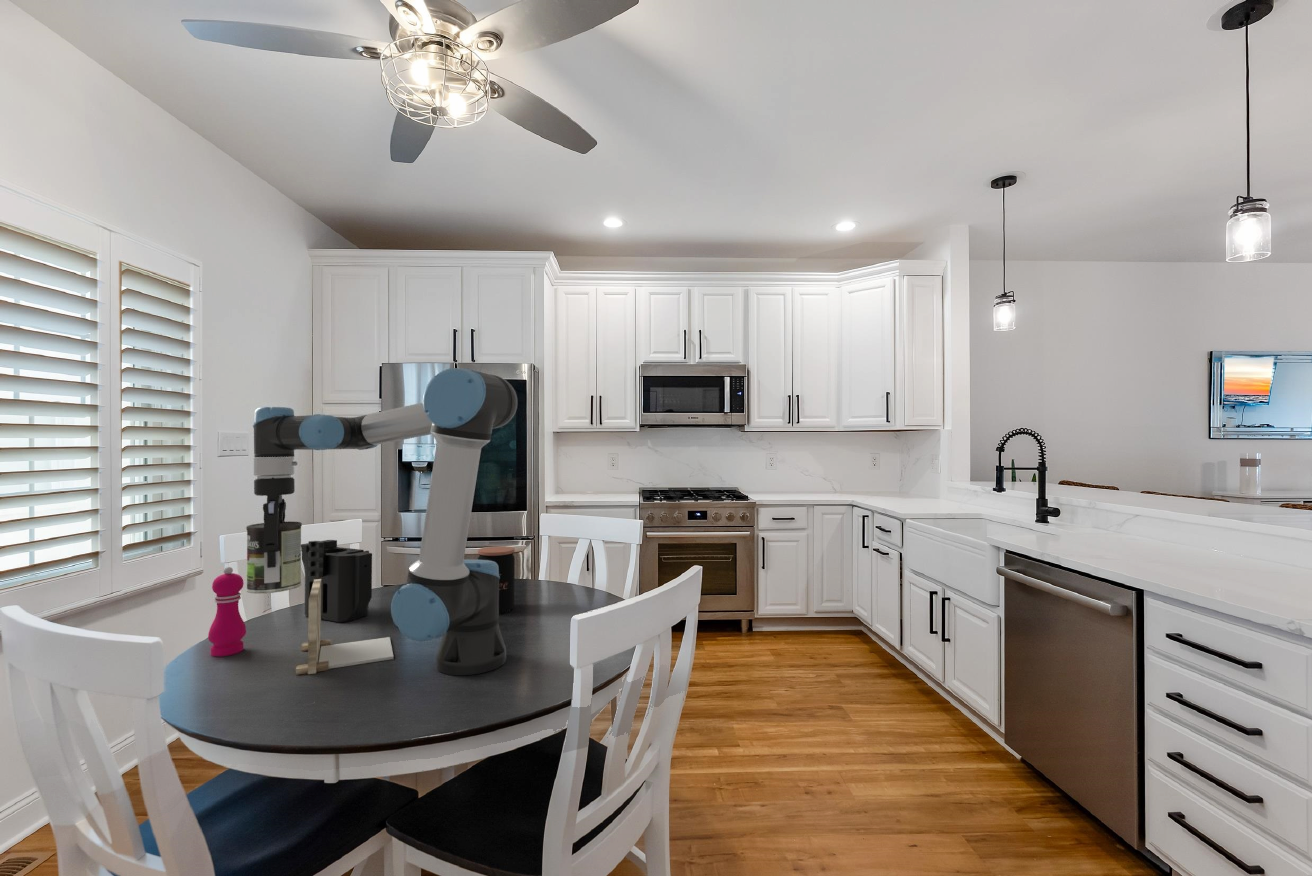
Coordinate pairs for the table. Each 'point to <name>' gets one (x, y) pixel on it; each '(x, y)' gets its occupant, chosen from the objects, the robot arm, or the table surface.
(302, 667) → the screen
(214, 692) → the table surface
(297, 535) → the coffee can
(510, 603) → the coffee jar
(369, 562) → the black machined bracket
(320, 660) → the mat
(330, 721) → the table surface
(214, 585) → the pepper mill
